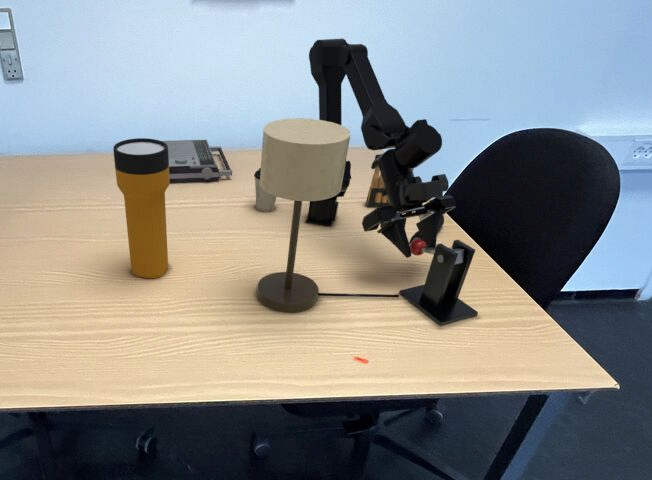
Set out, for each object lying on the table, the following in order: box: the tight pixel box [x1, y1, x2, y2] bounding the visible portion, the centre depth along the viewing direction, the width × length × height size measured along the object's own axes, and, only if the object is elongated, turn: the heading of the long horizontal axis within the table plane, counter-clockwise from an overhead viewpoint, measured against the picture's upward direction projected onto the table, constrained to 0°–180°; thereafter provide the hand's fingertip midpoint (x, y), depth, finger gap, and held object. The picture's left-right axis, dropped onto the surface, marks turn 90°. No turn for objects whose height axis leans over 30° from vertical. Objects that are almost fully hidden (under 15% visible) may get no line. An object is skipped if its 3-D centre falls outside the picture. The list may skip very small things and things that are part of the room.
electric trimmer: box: [409, 215, 445, 245], centre depth 125 cm, size 4×16×3 cm, turn 141°
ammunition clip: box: [365, 168, 415, 208], centre depth 136 cm, size 11×2×12 cm, turn 93°
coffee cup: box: [253, 167, 277, 213], centre depth 134 cm, size 7×7×10 cm
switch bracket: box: [398, 239, 479, 327], centre depth 98 cm, size 12×9×13 cm
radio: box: [161, 139, 233, 184], centre depth 158 cm, size 24×5×20 cm
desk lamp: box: [256, 117, 400, 314], centre depth 94 cm, size 29×14×32 cm, turn 89°
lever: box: [409, 239, 464, 264], centre depth 99 cm, size 12×3×3 cm, turn 23°
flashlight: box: [112, 137, 170, 279], centre depth 103 cm, size 10×26×10 cm
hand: (421, 254), depth 103 cm, fingers open, 6 cm apart
